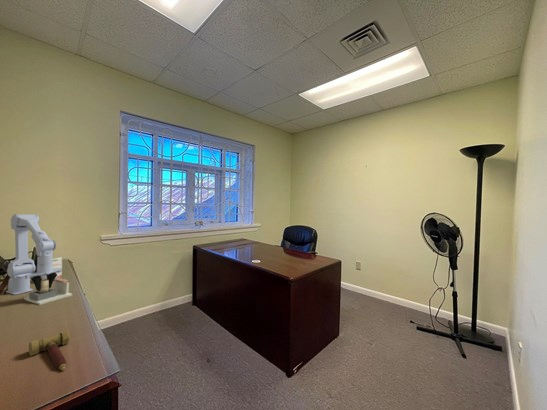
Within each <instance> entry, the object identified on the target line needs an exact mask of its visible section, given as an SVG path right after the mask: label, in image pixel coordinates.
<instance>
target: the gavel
mask: <svg viewBox="0 0 547 410" xmlns="http://www.w3.org/2000/svg"><path fill="white" fill-rule="evenodd" d="M69 342H70V332H69V330H65V331H61V332H59V334H55V335H52V336H48V337H45V338H42V339H36V340H31V341H30V342H29V343H28V353H29V356H30V357H33V356H35V354H36V355H38V354H39V353H40V352H45V351H47V352H48V355H49V356H50V358H51V360H52V362H53V364H54V367H55V368H56V369H58V370H61V371H65V370H66V367H67V360H66V359H65V356H64V355H63V353H62V350H61V349H60V348H59V346H60V345H61V346H65V345H67V344H69Z"/></svg>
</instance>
